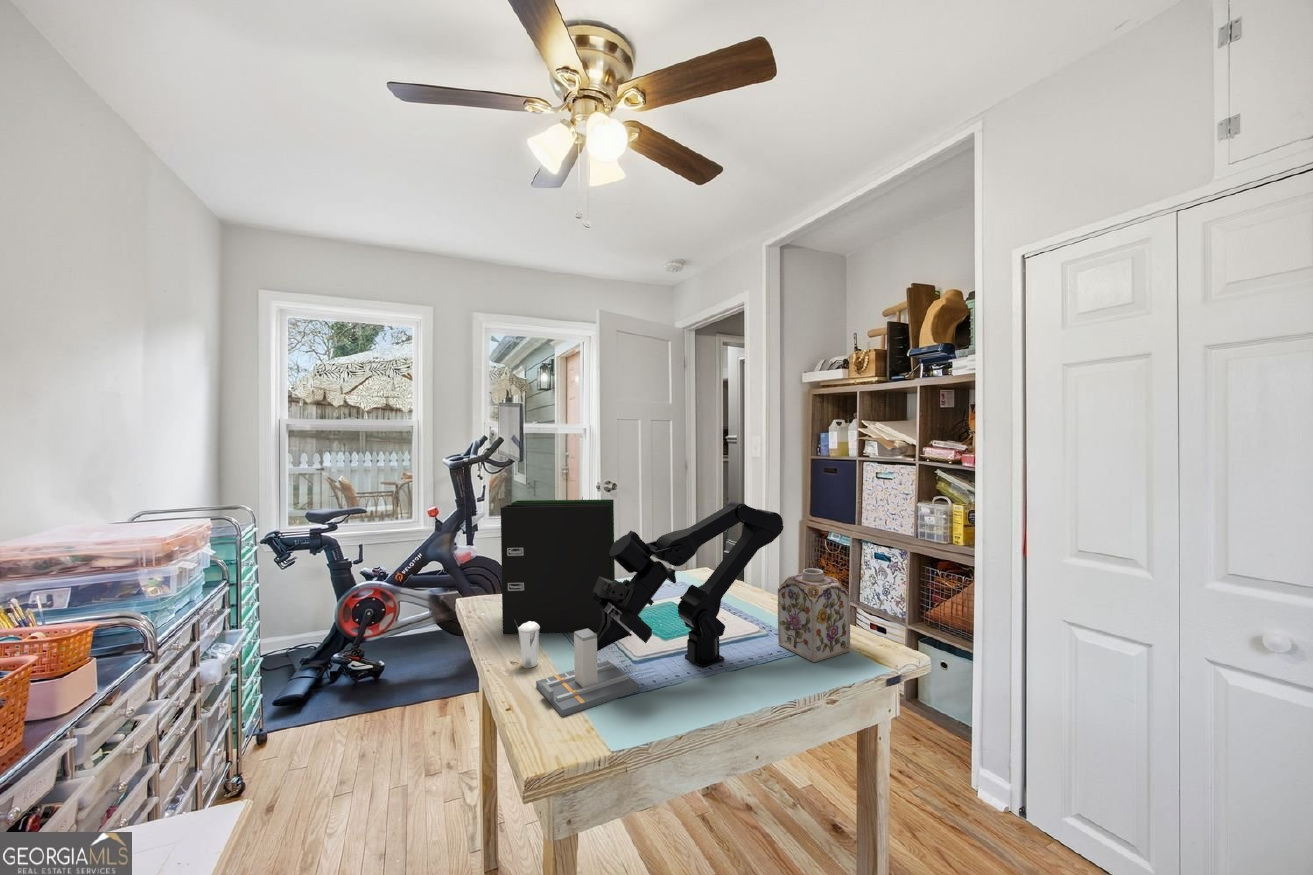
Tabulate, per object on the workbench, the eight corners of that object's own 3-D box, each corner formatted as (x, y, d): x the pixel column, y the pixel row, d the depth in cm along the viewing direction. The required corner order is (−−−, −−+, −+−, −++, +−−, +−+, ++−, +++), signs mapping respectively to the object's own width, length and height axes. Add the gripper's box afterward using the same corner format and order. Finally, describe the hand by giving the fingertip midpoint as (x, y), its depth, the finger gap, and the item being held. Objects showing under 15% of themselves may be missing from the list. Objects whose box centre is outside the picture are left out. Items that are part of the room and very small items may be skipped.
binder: (615, 613, 142) (613, 499, 142) (610, 634, 128) (608, 506, 127) (518, 614, 143) (516, 500, 142) (501, 635, 128) (499, 508, 128)
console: (607, 665, 110) (607, 653, 110) (639, 690, 99) (639, 676, 99) (533, 687, 101) (533, 674, 101) (559, 717, 90) (559, 702, 90)
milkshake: (517, 661, 113) (516, 616, 113) (541, 659, 114) (541, 614, 114) (513, 670, 109) (512, 623, 109) (538, 669, 109) (538, 622, 109)
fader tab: (588, 675, 103) (587, 628, 103) (597, 683, 99) (596, 634, 99) (574, 680, 101) (574, 631, 101) (583, 688, 98) (582, 638, 98)
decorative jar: (852, 652, 115) (851, 572, 115) (814, 664, 109) (813, 580, 109) (812, 634, 126) (811, 561, 125) (776, 644, 120) (775, 568, 120)
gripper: (601, 553, 112) (552, 611, 107) (636, 573, 95) (580, 643, 90) (634, 584, 115) (588, 642, 111) (674, 608, 99) (621, 678, 94)
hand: (593, 649), depth 101 cm, fingers closed
